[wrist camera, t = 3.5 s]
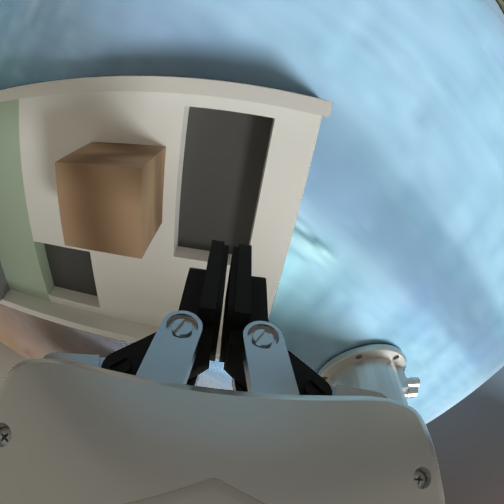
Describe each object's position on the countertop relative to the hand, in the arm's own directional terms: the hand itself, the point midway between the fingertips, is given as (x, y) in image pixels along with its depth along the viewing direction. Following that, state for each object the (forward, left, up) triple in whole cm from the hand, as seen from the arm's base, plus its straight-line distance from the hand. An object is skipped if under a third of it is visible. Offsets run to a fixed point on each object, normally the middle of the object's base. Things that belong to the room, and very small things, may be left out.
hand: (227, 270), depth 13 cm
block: (+9, +1, -10) cm, 13 cm away
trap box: (+12, +5, -12) cm, 17 cm away
